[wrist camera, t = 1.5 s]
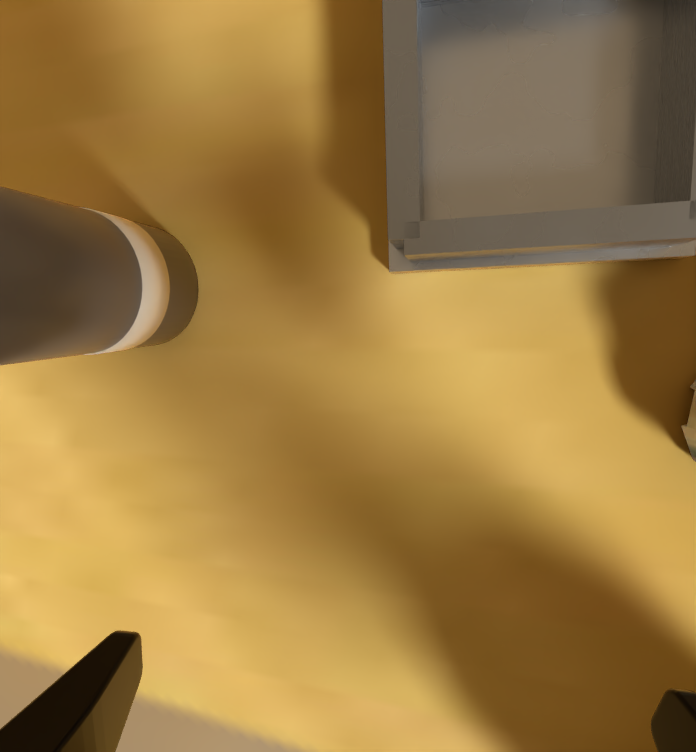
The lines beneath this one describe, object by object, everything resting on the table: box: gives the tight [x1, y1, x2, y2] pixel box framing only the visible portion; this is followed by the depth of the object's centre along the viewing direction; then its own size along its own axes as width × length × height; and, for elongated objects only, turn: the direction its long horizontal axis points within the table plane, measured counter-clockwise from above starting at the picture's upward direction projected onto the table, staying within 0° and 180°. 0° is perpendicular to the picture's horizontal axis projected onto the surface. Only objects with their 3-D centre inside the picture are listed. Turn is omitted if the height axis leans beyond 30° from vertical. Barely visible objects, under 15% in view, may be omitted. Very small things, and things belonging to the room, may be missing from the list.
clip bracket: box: [382, 0, 696, 274], centre depth 15 cm, size 14×10×4 cm
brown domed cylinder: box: [0, 187, 198, 365], centre depth 15 cm, size 6×6×13 cm
